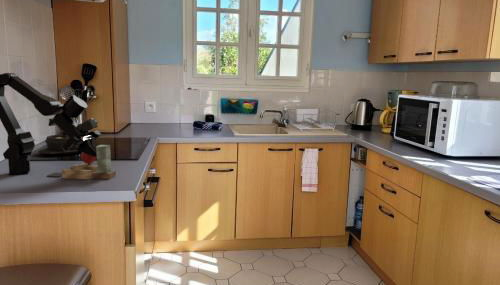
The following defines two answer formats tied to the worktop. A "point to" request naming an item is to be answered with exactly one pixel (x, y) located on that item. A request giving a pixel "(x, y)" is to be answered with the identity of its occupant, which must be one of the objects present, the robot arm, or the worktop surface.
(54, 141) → the casserole
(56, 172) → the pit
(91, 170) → the tunnel
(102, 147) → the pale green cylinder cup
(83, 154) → the onion
